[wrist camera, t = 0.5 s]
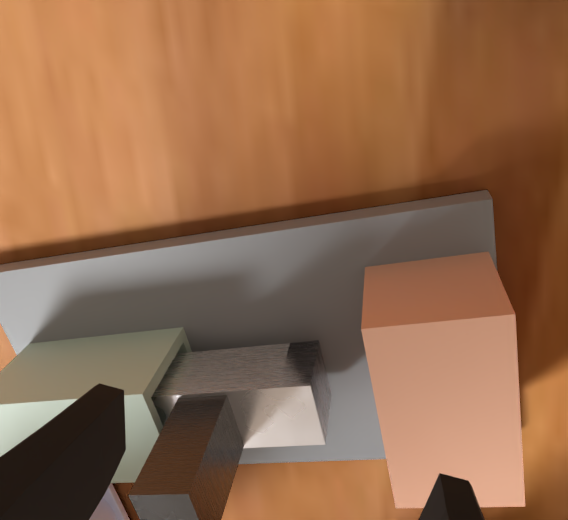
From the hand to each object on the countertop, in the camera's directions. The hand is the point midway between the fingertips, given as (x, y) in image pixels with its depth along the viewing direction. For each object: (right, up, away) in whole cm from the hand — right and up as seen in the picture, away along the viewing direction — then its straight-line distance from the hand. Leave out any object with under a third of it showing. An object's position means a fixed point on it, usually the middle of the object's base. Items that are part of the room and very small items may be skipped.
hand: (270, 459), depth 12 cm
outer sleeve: (-7, -1, +13) cm, 15 cm away
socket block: (+6, +1, +9) cm, 11 cm away
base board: (-2, 0, +12) cm, 12 cm away
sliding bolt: (-5, -1, +12) cm, 13 cm away
